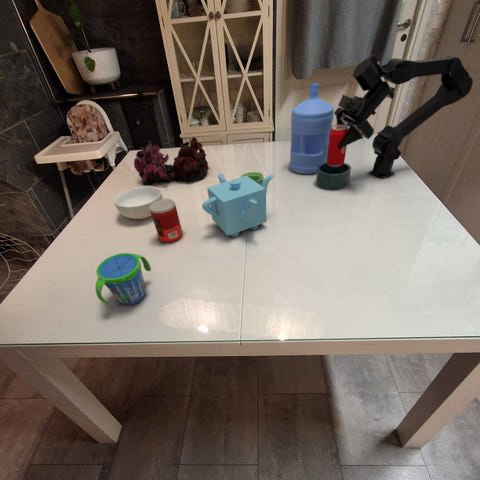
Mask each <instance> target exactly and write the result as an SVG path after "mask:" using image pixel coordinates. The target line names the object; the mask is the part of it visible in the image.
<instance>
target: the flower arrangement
mask: <svg viewBox="0 0 480 480" xmlns="http://www.w3.org/2000/svg"><path fill="white" fill-rule="evenodd" d="M179 147H180V148H179V150H178V152H177V156H175V157H174V158H173V160H174V161H173V164H171V163H170V164H167V162H168V161H169V158H170V157H169V154H168V153H166V154H164V153H162V152H160V149H161V148H160V146H159V145H158V144H154V145H153V144H152V142H151V140H148V144H147V145H146V147H141V148H140V149H141V150H138V151H136V154H135V158H134V160H133V167H134V169H135V170H136V172H138V177H140V178H141V182H142V184H143V186H153V185H155V184H160V185H161V184H167V183H174V182H176V183H177V182H178V183H185V184H192V183H196V182H199V181H202V180H204V179H205V178H206V177H208V170H209V163H208V160H207V159H206V158H207V153H206V150H205V149H203V143H201V142H200V141H199V142H198V139H197V137H195V136H192V137H191V138H189V141H185V142H184V143H180V144H179Z"/></svg>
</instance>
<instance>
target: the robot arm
mask: <svg viewBox="0 0 480 480" xmlns="http://www.w3.org/2000/svg"><path fill="white" fill-rule="evenodd" d="M377 59H378V58H377V57H376V56H375V55H374V54H370V55H369V56H368V57H367V58H365V59H364V60H362V61H361V62H360V63H358V64H357V66H355V68H354V70H353V73H352V77H353V78H354V80H355V81H356V83H357V85H358V86H359V87H360V89H361V91H363V92H365V94H364V95H363V96H357V95H354V96H353V97H350V96H347V95H345V94H342V95H341V98H340V101H339V102H338V105H337V108H336V110H334V116H335V120H336V125H340V124H342V125H347V126H348V132H347V134H346V135H345V136H344V138H343V139H342V140H341V142H340V143H339V145H338V146H337V148H338V149H341V148H343V147H345V146H347V147H348V145H351V144H353V143H354V142H355V143H356V142H357V141H359V140H363V139H364V138H365V139H366V140H370V138H371V137H372V136H373V135H374V132H375V129H374V128H373V126H372V124H370V121H368V119H369V118H370V117H371V116H375V115H376V114H377V111H376V110H377V108H379V106H380V105H381V104H382V103H383V102H384V101H385V100H386V98H387V99H391V100H393V99H394V98H395V90H396V88H395V87H393V86H391V85H389V83H391V84H393V85H398V86H399V85H402V84H405V83H408V82H410V81H411V80H413V79H416V78H421V77H429V76H436V75H437V76H438V75H440V83H441V84H440V86H439V87H438V89H437V91H436V93H435V94H434V95H433V96H432V97H430V98H429V99H428V100H427V101H426V102H424V103H423V104H422V105H421V106H419V107H418V108H416V110H414V111H413V112H412V113H411V114H409V115H408V116H407V117H406V118H404V119H403V120H401V122H399V123H398V124H397V125H395V126H391V125H389V124H387V125H385V126H384V127H383V129H381V130H380V131H378V132H377V133H376V134H377V135H376V136H375V137H374V138H373V140H372V145H371V146H372V147H371V148H372V149H373V153H374V154H375V155H376V156H375V160H374V163H373V167H372V170H370V171H369V174H371V175H374V176H376V177H378V178H380V179H382V178H385V177H389V176H392V175H394V174H395V172H394V171H392V170H393V166H394V163H395V161H396V160H398V159H399V158H400V156H401V154H402V152H401V150H400V149H399V147H400V146H401V144H402V142H403V140H404V138H405V137H407V136H408V135H409V134H411V133H412V132H413V131H414V130H416V129H417V128H419V127H420V126H421V125H423V123H424V122H426V121H427V120H428V119H430V118H431V117H432V116H433V115H435V114H436V113H437V112H439V111H441V109H443V108H444V107H447V106H450V105H453V104H456V103H457V102H459V101H461V100H462V99H464V98H465V97H466V96H468V95H469V93H470V92H471V90H472V88H473V82H474V80H473V78H472V76H470V73H469V72H468V70H467V69H466V68H465V66H463V63H462V59H461V58H460V57H459V56H454V55H453V56H452V55H447V56H444V57H443V56H442V57H437V58H428V59H420V60H419V59H418V60H411V59H404V58H397V57H393V58H390V59H389V60H388V61H387V63H385V64H382V65H380V63H379V62H378V60H377ZM383 80H384V81H383Z"/></svg>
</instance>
